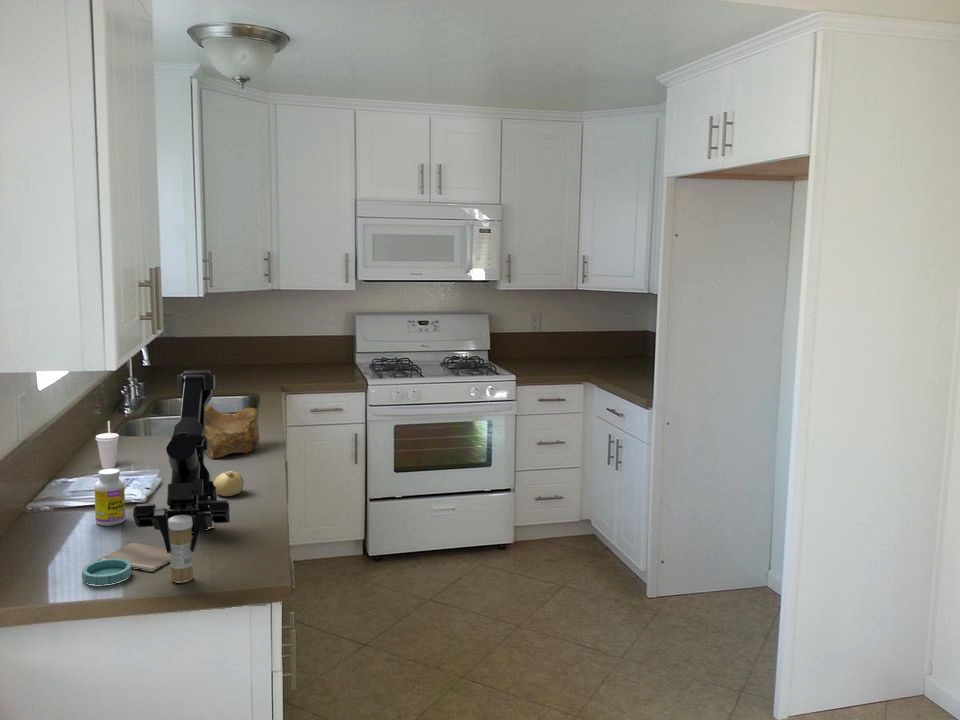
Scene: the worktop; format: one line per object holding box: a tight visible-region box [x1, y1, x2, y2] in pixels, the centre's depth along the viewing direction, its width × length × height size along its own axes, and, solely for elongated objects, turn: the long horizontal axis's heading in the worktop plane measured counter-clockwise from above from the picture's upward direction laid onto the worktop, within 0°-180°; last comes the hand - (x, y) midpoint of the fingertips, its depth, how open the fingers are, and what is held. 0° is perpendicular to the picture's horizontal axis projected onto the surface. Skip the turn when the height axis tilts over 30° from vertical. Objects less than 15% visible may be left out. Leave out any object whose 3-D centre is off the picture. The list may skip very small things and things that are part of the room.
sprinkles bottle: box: [168, 515, 194, 582], centre depth 168 cm, size 5×5×13 cm
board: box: [96, 542, 170, 570], centre depth 179 cm, size 11×14×1 cm
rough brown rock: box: [204, 405, 260, 460], centre depth 261 cm, size 23×17×15 cm
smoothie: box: [95, 420, 120, 470], centre depth 244 cm, size 6×6×14 cm
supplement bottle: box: [94, 468, 126, 527], centre depth 199 cm, size 7×7×13 cm
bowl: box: [81, 558, 133, 585], centre depth 169 cm, size 9×9×2 cm
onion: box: [213, 470, 245, 497], centre depth 223 cm, size 8×8×7 cm
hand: (180, 551), depth 167 cm, fingers closed on sprinkles bottle, 4 cm apart
